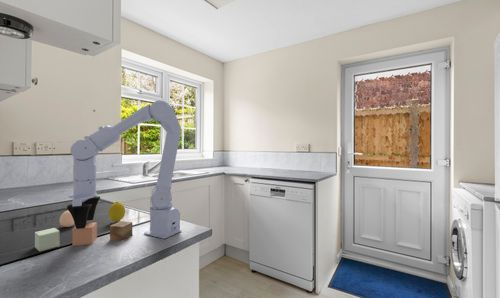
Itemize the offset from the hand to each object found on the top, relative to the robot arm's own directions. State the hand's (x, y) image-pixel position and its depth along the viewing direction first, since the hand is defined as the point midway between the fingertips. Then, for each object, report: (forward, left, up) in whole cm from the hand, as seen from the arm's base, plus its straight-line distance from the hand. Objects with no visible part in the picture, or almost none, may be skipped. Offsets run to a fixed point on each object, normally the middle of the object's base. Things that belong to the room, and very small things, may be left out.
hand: (85, 224), depth 72 cm
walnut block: (-7, -7, -6) cm, 11 cm away
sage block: (+6, +7, -6) cm, 11 cm away
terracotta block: (0, 0, -6) cm, 6 cm away
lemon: (+8, -16, -6) cm, 19 cm away
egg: (+19, -5, -6) cm, 20 cm away
